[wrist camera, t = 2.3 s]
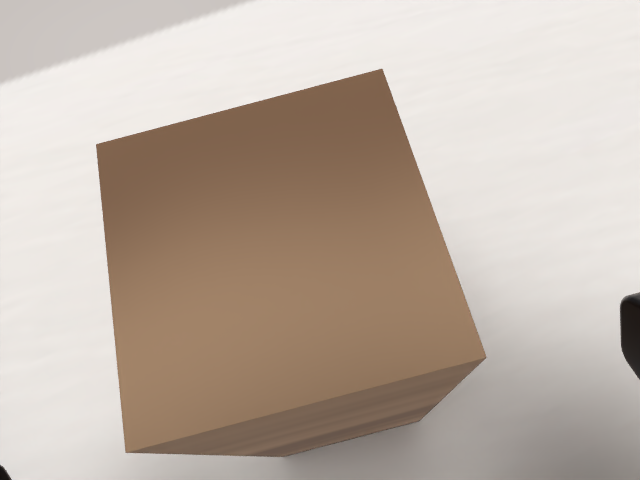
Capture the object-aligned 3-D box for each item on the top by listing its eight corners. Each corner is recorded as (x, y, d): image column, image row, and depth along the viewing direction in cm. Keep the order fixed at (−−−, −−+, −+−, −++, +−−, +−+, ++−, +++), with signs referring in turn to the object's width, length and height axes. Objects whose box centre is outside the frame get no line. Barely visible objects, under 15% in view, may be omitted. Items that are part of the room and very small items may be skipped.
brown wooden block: (419, 420, 16) (487, 357, 6) (282, 456, 16) (125, 453, 6) (380, 290, 18) (382, 68, 8) (256, 323, 18) (96, 144, 8)
